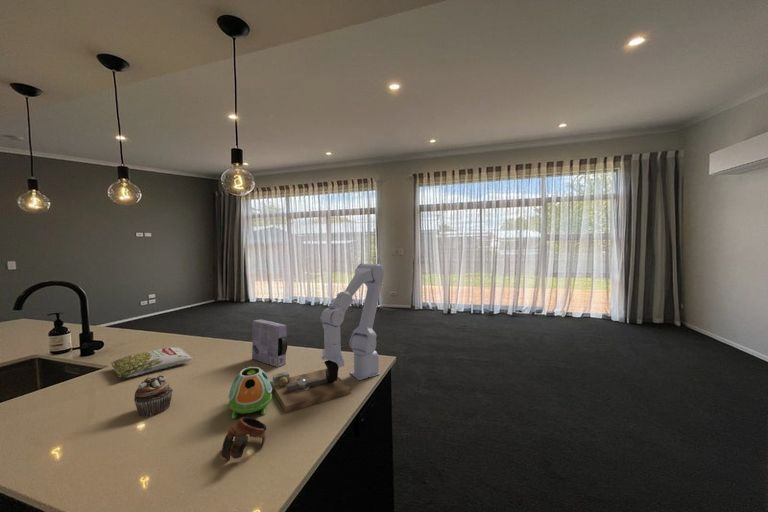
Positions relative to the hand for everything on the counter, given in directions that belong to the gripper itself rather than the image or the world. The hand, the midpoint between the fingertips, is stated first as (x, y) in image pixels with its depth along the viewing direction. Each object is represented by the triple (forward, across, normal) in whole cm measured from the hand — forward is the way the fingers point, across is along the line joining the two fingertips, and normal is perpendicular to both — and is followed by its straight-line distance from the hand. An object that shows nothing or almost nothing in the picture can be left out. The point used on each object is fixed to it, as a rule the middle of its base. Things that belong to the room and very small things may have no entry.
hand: (333, 380), depth 106 cm
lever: (+1, -3, -7) cm, 8 cm away
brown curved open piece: (+3, +17, -32) cm, 36 cm away
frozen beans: (+3, -63, -56) cm, 85 cm away
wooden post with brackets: (+3, -10, -22) cm, 25 cm away
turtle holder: (+3, -4, -26) cm, 27 cm away
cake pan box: (+3, -40, -13) cm, 42 cm away
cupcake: (+3, -19, -52) cm, 56 cm away
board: (+3, -4, -7) cm, 9 cm away
